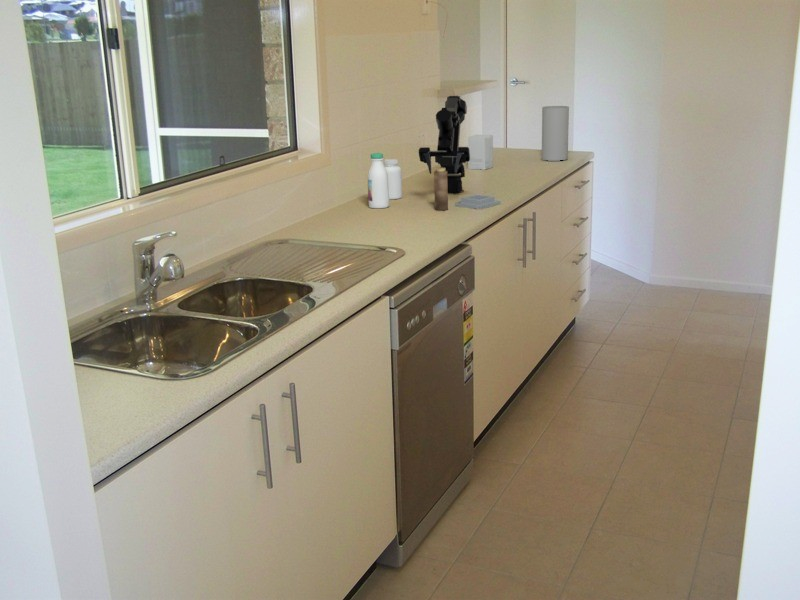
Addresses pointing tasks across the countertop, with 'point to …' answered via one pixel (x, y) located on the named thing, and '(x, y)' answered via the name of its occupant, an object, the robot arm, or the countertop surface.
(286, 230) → the countertop surface
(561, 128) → the cylinder vase
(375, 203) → the milk bottle
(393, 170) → the pill bottle
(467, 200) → the seat dish
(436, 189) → the pepper mill
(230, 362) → the countertop surface
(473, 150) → the supplement box
